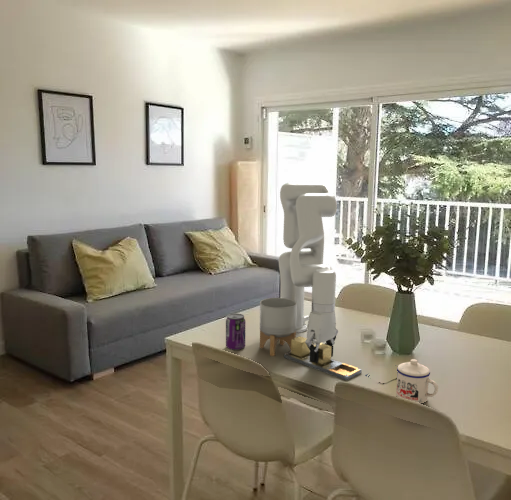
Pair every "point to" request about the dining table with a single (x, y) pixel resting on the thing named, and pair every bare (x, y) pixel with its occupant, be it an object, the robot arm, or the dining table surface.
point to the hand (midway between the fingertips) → (321, 358)
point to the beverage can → (235, 331)
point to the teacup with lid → (414, 382)
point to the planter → (277, 322)
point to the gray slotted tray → (328, 367)
